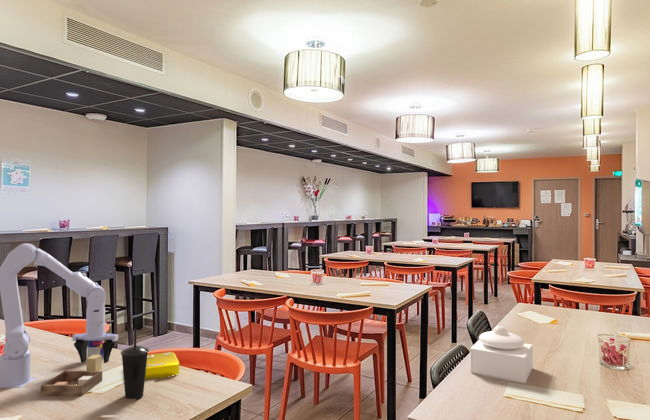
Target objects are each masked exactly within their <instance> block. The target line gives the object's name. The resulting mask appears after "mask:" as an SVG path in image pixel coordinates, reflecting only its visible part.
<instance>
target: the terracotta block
mask: <svg viewBox="0 0 650 420" xmlns="http://www.w3.org/2000/svg"><path fill="white" fill-rule="evenodd" d="M54 385H68V382H57V383H55V384H54Z"/></svg>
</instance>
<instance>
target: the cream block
mask: <svg viewBox="0 0 650 420" xmlns="http://www.w3.org/2000/svg"><path fill="white" fill-rule="evenodd" d="M91 377H93V376H82V377H81V378H80V379H78V385H81V384H83V383H84V382H86V381H87V380H89V379H90V378H91Z"/></svg>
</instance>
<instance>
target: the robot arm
mask: <svg viewBox="0 0 650 420" xmlns="http://www.w3.org/2000/svg"><path fill="white" fill-rule="evenodd" d="M33 262H34V263H33ZM32 263H33V266H39V267H42V266H43V267H45V268H46V269H48V270H50V271H51V272H53V273H55V274H56V275H57V276H59V277H61V278H62V279H63V280H65V286H66V287H67V288H69V289H71V290H72V291H74V292H75V293H76V294H78V295H79V296H81V297H83V298H86V301H87V305H86V306H87V308H86V310H85V311H86V312H85V313H86V314H85V315H86V316H85V317H86V319H85V321H86V324H85V333H75V334H72V342H74V343H73V346H74V348H75V349H76V351H77V353H78V355H79V359H80V362H81V363H82V364H83V363H84V364H85V362H87V346H88V341H104V343H102V346H103V352H104V358H103V363H104V364H107V363H108V362H109V361H110V356H111V353H112V350H113V348H114V346H115V345H116V343H117V341H119V334H116V333H108V332H106V307H105V306H106V303H105V301H106V300H107V295H106V294H107V293H106V291H105V289H104V288H103V287H102V285H99V284H98V282H96V281H95V282H94V281H93V280H92V279H90V278H89V277H88V276H87V274H86V273H85V272H81V271H75V272H74V271H72V270H70V269H69V268H68V267H67V266H65V265H64V264H62V262H60V261H59V260H58V259H56V258H55V257H53V256H52V255H51V254H49V253H48V252H46V251H45V250H42V249H41V248H39V247H38V248H37V246H35V245H34V244H33V243H28V242H24V243H21V244H19V245H17V246H16V247H15V248H13V249H12V250H11V251H10V252H8V254H7V256H6V257H5V259H4V261H3V262H2V263H1V265H0V300H1V307H2V313H3V319H4V326H5V330H4V331H5V333H4V334H5V335H4V337H5V342H4V345H3V349H2V350H3V354H2V355H0V388H13V389H14V388H18V389H19V388H23V387H24V386H26V385H28V384H29V383H31V382H33V381H35V380H36V379H37V377H36V376H35V377H32V376H31V363H32V362H31V359H32V358H31V357H32V356H31V354H32V353H31V351H30V350H29V345H30V342H31V336H30V335H29V333H28V332H27V331H26V326H25V323H24V318H23V311H22V304H21V296H20V290H19V284H18V276H17V275H18V274H19V272H21V270H22V269H23V268H25V267H26V266H29V265H30V264H32Z"/></svg>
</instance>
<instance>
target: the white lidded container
mask: <svg viewBox="0 0 650 420" xmlns="http://www.w3.org/2000/svg"><path fill="white" fill-rule="evenodd" d="M533 349H534V346H533V344H531V343H525V341H524V339H523V337H521V336H519V335H517V334H515V333H511V332H508V330H507V328H506V327H505V326H501V325H497V326H495V327H494V328H493V330H490V331H489V330H488V331H485V332H482V333H481V334H479V336H478V340H477V341H476V342H475V343H474V344H473V345H472V346H471V347H470V348H469V351H470V374H473V375H479V376H484V377H489V378H495V379H501V380H505V381H508V382H509V381H510V382H515V383H519V384H520V383H521V384H525V385H526V383H527V381H528V380H529V377H530V376H531V375H530V374H531V372H532V371H533V363H534V362H533V358H534V357H533V356H534V355H533Z"/></svg>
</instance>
